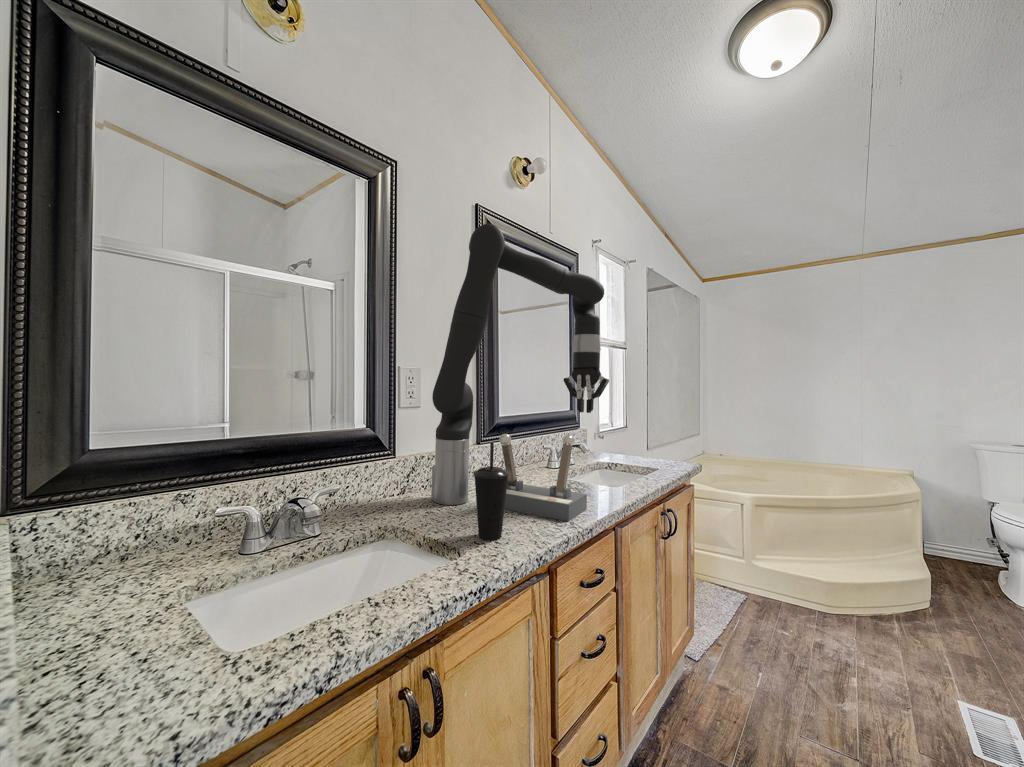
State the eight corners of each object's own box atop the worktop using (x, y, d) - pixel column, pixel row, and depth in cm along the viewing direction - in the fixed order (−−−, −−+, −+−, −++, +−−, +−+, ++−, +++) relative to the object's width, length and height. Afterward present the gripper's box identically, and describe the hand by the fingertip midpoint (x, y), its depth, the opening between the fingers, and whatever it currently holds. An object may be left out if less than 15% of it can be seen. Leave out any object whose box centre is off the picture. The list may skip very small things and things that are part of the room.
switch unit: (485, 505, 114) (485, 481, 114) (508, 495, 125) (508, 474, 125) (568, 521, 102) (569, 495, 102) (586, 509, 113) (587, 485, 113)
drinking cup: (464, 536, 91) (466, 442, 91) (490, 528, 96) (492, 439, 96) (489, 546, 86) (491, 446, 86) (515, 536, 91) (517, 443, 91)
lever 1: (505, 487, 117) (496, 436, 112) (510, 480, 119) (502, 431, 115) (515, 488, 115) (506, 437, 110) (521, 482, 118) (512, 432, 113)
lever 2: (552, 490, 109) (561, 432, 114) (556, 492, 112) (566, 436, 117) (563, 492, 108) (572, 433, 112) (568, 494, 110) (577, 437, 115)
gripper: (559, 350, 122) (557, 411, 122) (605, 349, 115) (604, 414, 115) (569, 352, 128) (568, 410, 128) (614, 352, 121) (612, 413, 121)
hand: (585, 412), depth 122 cm, fingers closed
